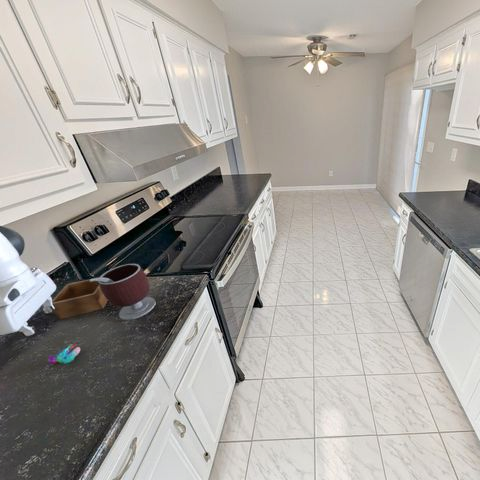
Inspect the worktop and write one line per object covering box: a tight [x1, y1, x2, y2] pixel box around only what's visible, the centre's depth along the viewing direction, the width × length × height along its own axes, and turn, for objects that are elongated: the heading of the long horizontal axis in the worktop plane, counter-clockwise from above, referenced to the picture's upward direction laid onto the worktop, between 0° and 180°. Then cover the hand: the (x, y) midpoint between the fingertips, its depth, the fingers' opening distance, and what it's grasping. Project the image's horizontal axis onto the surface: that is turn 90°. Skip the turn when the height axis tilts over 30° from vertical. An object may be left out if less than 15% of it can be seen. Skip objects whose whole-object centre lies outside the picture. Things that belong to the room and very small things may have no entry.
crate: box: [52, 278, 109, 320], centre depth 104 cm, size 15×14×8 cm
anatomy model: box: [47, 343, 81, 364], centre depth 80 cm, size 5×8×7 cm
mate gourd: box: [88, 263, 157, 321], centre depth 95 cm, size 16×14×20 cm
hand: (41, 321), depth 74 cm, fingers open, 8 cm apart
